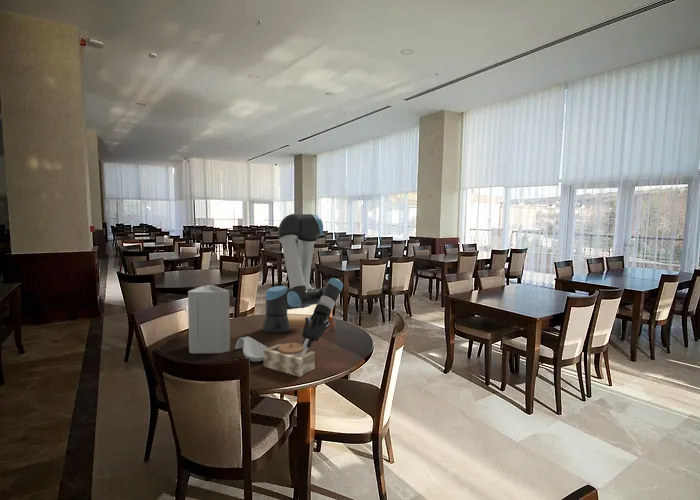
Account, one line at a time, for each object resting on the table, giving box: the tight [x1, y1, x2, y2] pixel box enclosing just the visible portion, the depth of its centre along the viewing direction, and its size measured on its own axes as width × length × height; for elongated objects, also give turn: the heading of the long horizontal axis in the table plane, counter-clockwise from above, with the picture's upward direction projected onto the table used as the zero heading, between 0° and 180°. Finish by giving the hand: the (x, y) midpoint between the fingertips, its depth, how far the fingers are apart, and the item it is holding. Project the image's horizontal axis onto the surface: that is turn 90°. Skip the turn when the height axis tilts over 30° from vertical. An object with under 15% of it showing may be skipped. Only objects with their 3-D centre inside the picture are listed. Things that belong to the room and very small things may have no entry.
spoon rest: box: [234, 336, 268, 363], centre depth 171 cm, size 24×12×7 cm, turn 41°
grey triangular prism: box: [187, 284, 231, 354], centre depth 177 cm, size 19×15×28 cm
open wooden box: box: [263, 343, 316, 378], centre depth 159 cm, size 19×10×7 cm, turn 59°
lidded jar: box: [278, 342, 304, 357], centre depth 161 cm, size 11×11×9 cm
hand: (302, 353), depth 166 cm, fingers closed
